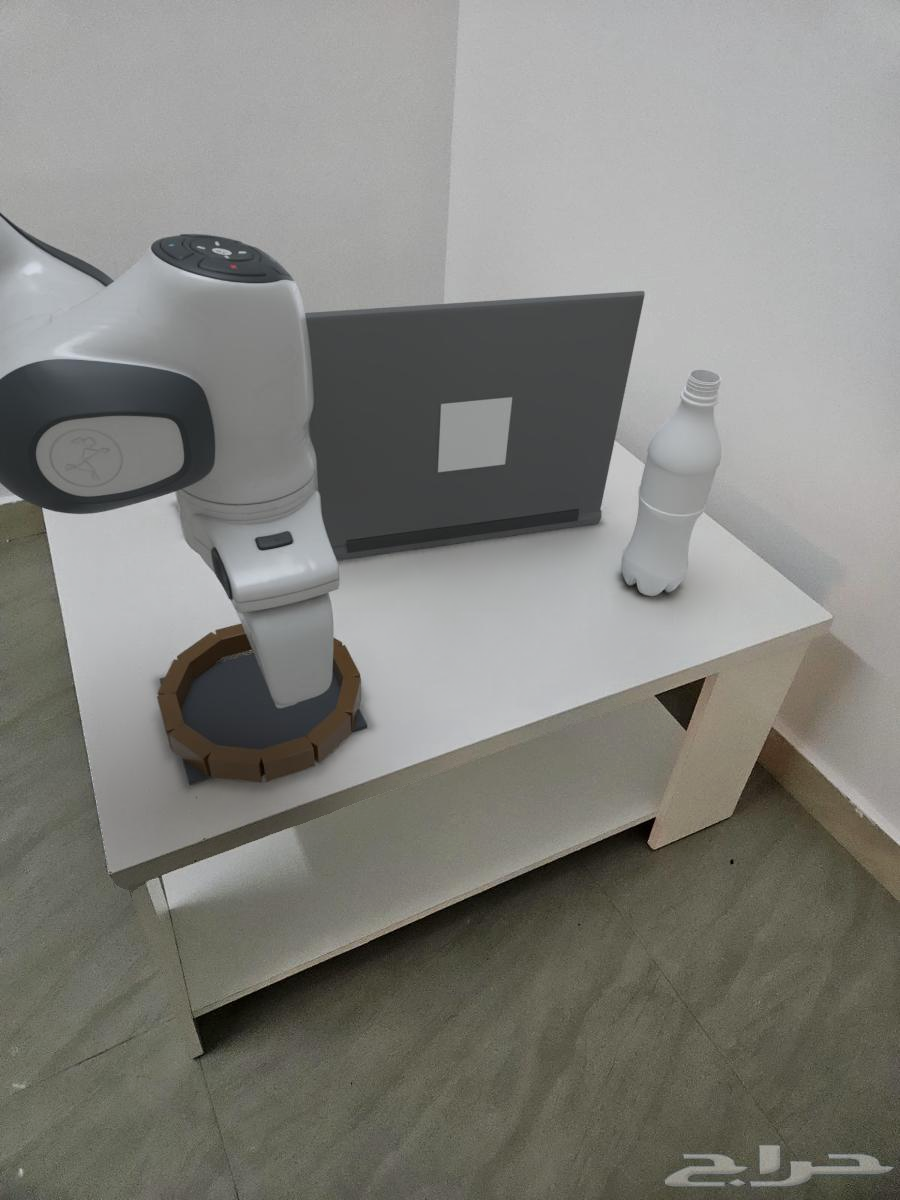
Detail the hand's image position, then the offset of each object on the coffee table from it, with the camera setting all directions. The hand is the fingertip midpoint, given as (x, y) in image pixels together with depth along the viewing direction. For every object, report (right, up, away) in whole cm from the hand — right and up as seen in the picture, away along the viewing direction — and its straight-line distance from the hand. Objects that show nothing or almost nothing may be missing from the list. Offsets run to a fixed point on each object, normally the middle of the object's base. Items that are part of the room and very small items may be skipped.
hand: (266, 656), depth 62 cm
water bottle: (+36, +6, +31) cm, 48 cm away
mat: (-4, -5, +14) cm, 16 cm away
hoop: (-3, -5, +14) cm, 15 cm away
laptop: (+12, +20, +45) cm, 50 cm away
